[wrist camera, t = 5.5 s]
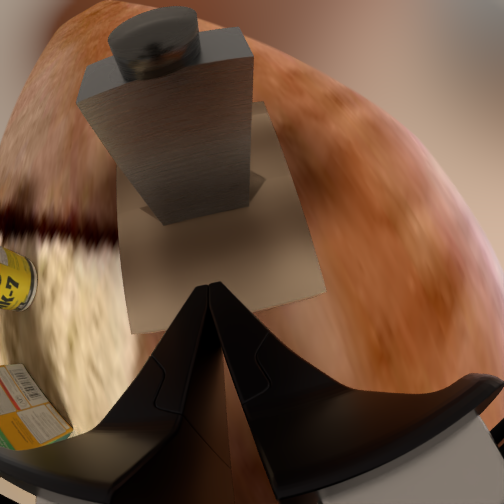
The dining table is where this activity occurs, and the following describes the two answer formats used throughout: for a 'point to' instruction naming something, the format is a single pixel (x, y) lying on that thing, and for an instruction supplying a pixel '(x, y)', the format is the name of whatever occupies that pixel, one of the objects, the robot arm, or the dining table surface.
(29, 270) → the supplement bottle
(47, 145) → the dining table surface
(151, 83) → the grey piece
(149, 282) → the board
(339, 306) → the dining table surface
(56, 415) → the crayon box
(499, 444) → the robot arm
